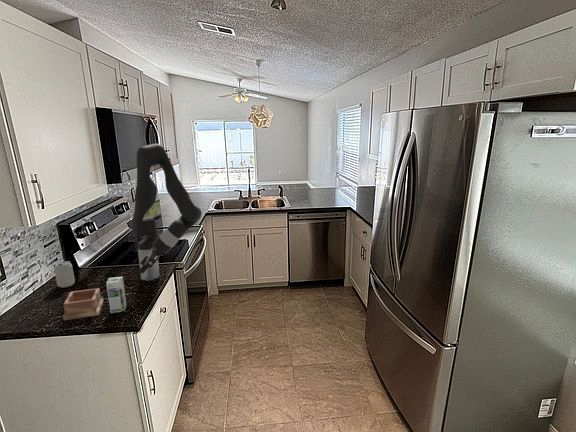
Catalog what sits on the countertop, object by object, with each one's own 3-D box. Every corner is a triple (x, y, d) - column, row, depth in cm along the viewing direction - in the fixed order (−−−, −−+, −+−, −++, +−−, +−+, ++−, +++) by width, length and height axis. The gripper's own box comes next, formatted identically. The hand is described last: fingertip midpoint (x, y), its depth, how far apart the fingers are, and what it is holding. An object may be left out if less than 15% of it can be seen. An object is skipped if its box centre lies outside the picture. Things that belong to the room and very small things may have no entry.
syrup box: (110, 313, 145) (105, 283, 141) (112, 306, 150) (108, 277, 146) (124, 311, 146) (120, 281, 143) (126, 305, 152) (123, 275, 148)
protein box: (140, 219, 289) (138, 202, 285) (151, 215, 303) (149, 198, 299) (151, 220, 287) (149, 202, 282) (161, 215, 301) (160, 198, 297)
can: (56, 284, 171) (52, 262, 167) (73, 280, 175) (70, 259, 172) (58, 289, 165) (54, 267, 162) (76, 285, 170) (72, 263, 167)
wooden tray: (71, 305, 151) (69, 291, 149) (103, 300, 155) (101, 286, 154) (63, 320, 139) (60, 305, 138) (98, 315, 144) (96, 300, 142)
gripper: (159, 231, 153) (135, 257, 152) (159, 240, 140) (132, 269, 139) (173, 240, 156) (149, 266, 155) (173, 251, 143) (147, 279, 142)
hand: (141, 268), depth 147 cm, fingers open, 8 cm apart
